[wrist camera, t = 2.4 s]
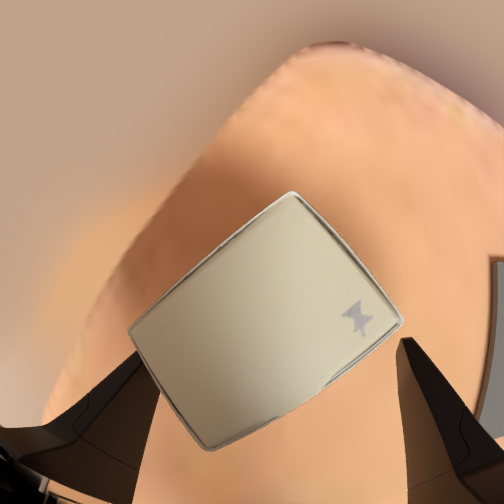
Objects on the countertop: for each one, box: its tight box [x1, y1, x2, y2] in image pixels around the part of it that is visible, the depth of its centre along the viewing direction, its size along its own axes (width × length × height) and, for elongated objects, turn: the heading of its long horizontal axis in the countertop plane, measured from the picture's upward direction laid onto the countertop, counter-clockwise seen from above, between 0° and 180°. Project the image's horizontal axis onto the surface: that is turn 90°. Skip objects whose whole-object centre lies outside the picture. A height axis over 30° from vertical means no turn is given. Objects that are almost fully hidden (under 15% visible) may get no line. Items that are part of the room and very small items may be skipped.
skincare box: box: [128, 191, 404, 452], centre depth 12 cm, size 6×4×12 cm
